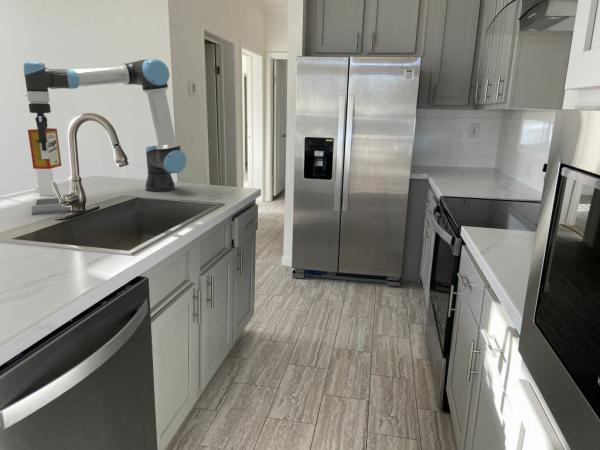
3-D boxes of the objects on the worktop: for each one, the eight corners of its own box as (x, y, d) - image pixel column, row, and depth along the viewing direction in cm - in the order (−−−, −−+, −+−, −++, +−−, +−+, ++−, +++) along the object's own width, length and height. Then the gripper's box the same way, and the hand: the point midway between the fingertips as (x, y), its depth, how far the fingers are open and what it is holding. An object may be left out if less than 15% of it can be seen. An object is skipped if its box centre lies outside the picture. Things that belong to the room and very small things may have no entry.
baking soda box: (49, 168, 182) (43, 129, 178) (33, 168, 182) (27, 128, 178) (61, 165, 191) (56, 127, 187) (46, 165, 191) (41, 127, 187)
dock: (72, 203, 202) (72, 196, 201) (73, 211, 188) (72, 203, 187) (34, 206, 195) (33, 198, 194) (32, 214, 181) (30, 206, 180)
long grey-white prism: (39, 196, 216) (32, 150, 210) (42, 193, 222) (35, 149, 216) (53, 195, 218) (47, 150, 212) (56, 193, 224) (49, 148, 218)
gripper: (30, 102, 189) (38, 154, 194) (25, 103, 168) (33, 160, 174) (50, 102, 192) (57, 153, 198) (48, 103, 171) (55, 160, 177)
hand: (46, 157), depth 186 cm, fingers closed on baking soda box, 11 cm apart
